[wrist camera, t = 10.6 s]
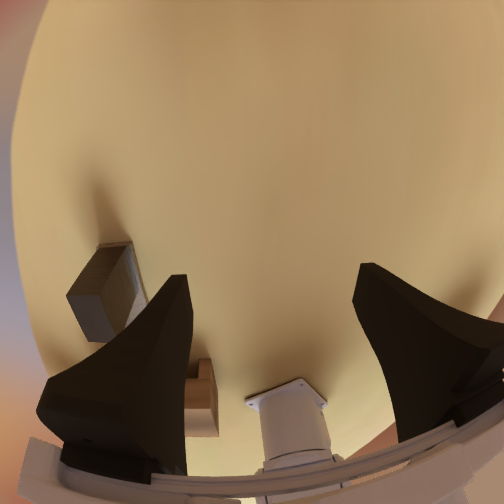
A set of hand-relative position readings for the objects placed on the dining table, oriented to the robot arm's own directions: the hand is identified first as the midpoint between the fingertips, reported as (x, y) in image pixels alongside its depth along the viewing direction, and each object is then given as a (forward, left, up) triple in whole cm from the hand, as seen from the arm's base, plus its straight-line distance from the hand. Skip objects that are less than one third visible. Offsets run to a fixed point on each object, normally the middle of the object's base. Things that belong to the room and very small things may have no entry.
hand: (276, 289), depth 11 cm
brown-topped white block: (-3, +14, -10) cm, 17 cm away
